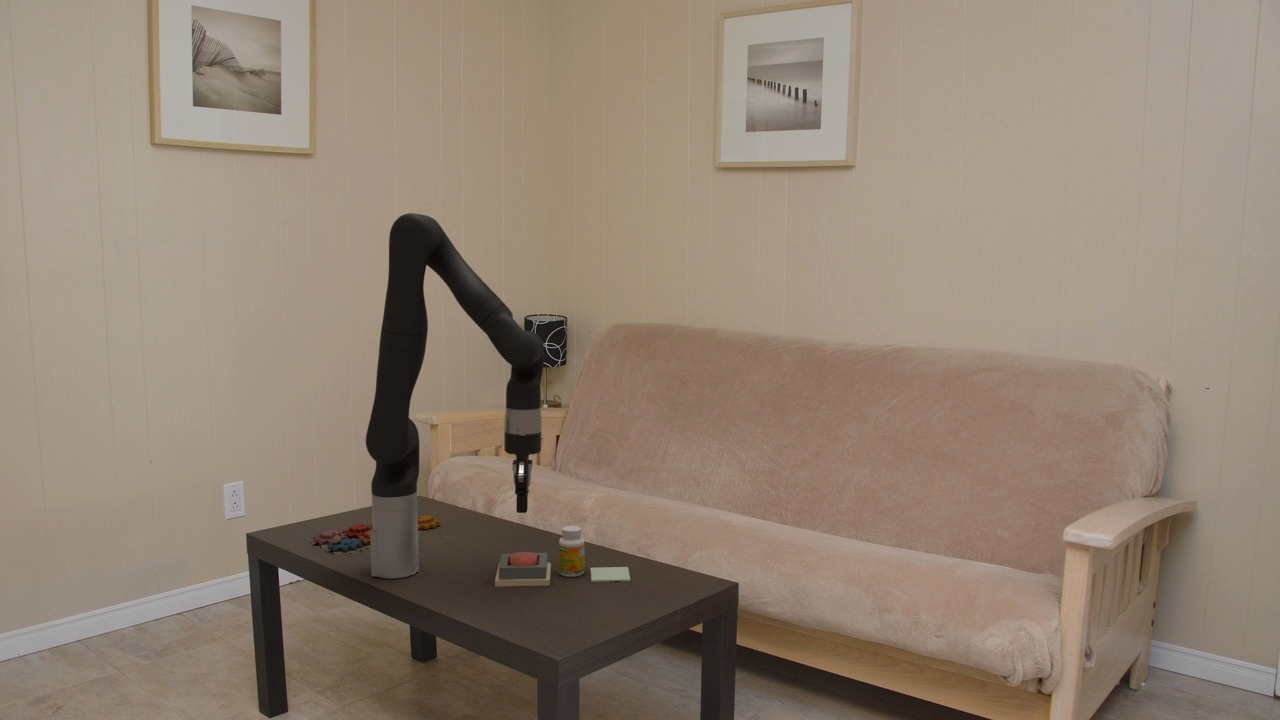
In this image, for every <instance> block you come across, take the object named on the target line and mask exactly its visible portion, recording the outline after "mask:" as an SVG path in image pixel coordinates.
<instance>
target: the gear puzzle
mask: <svg viewBox="0 0 1280 720" xmlns="http://www.w3.org/2000/svg"><path fill="white" fill-rule="evenodd" d="M417 517H418V533H421V534H418V537H420V536H423V535H422V532H421V531H419V530H421V529H423V530H428V529H430V528H437V526H440V525H441V524H442V523H441V521H440V519H439V518H435V517H433V516H432V515H428V514H427V515H420V516H418V515H417ZM372 529H373V524H370V526H369V525H367V524H361V523H360V524H354V525H352V526H349V528H348V529H346V530H343V531H342V533H341V531H340V530H336V529H334V530H331V529H330V530H324V531H322V532H320V534H318V535H316V536H315V535H314V536H313V537H312V540H311V541H313V543H319V544H318V545H321V546H328V547H326V548H327V549H328V550H333V551H332V552H336V553H338V554H342V553H347V552H351V553H356V552H360V551H358V550H360V549H366V547H367V548H371V541H370V533H371V531H372ZM348 538H349V539H348ZM363 546H364V547H363ZM366 550H367V549H366Z"/></svg>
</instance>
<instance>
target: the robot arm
mask: <svg viewBox="0 0 1280 720" xmlns="http://www.w3.org/2000/svg"><path fill="white" fill-rule="evenodd" d="M388 237H389V239H388V280H387V285H386V286H387V288H386V294H385V300H384V301H385V302H384V309H383V317H382V323H381V329H380V339H379V345H378V348H379V349H378V359H377V367H376V368H377V369H376V379H375V380H376V381H375V391H374V393H375V394H374V400H373V405H372V408H371V413H370V417H369V421H368V425H367V426H368V427H367V431H366V434H365V446H366V449H367V452H368V454H369V456H370V457H371V458H372V460H374V461H375V471H374V474H373V477H372V479H371V484H370V485H371V486H370V487H371V491H370V492H371V513H372V515H371V517H372V519H371V520H372V522H371V523H372V524H373V529H372V531H371V533H370V541H371V549H370V565H371V566H370V568H371V569H370V570H371V573H370V574H371V576H370V577H378V578H382V579H401V578H406V577H410V575H411V576H413V575H415V574H417V573H418V572H419V562H420V561H419V560H420V559H419V538H418V531H419V529H418V480H419V476H420V434H419V430H418V427H417V425H416V423H415V422H414V421H413V420H412V419H411V418H410V407H411V399H412V396H413V392H414V389H415V386H416V384H417V380H418V379H419V376H420V372H421V370H422V366H423V363H424V359H425V354H426V347H427V340H428V331H429V320H428V312H427V306H426V300H425V292H424V286H425V285H424V282H425V275H426V271H427V267H429V268H430V270H432V271H433V272H434V273H435V274H436V275H437V276H439V278H440V279H441V280H442V281H443V282H444V283H445V285H446V286H447V287H448V289H449V290H450V292H451V294H452V295H453V297H454V299H455V300H456V301H457V303H458V304H459V305H460V308H462V310H463V311H464V312H465V314H466V315H467V316H468V317H469V318H470V319H471V320H472V321H473V322H474V323H475V325H477V326H478V327H479V328H480V329H481V330H482V332H483V333H485V334H486V335H487V337H488V339H489V340H490V342H491V344H492V345H493V346H494V348H495V349H496V351H497V352H498V353H499V355H500V356H501V357H502V359H503V360H504V361H506V362H507V363H508V364H509V365H510V366H511V367H510V378H509V380H508V382H507V384H506V391H505V414H504V431H503V432H504V445H503V446H504V447H503V449H504V452H505V453H506V454H508V455H514V456H516V458H515V459H513V460H512V466H511V467H512V469H511V470H512V472H513V484H514V487H515V490H514V494H515V495H516V512H517V514H526V513H528V505H529V504H528V503H529V501H528V500H529V498H528V497H529V493H530V489H529V488H530V484H531V480H532V469H533V459H530V458H529V457H530V455H537V454H539V453H541V451H542V421H543V420H542V411H541V404H542V403H541V401H542V397H541V396H542V393H541V385H542V384H541V382H542V377H543V372H544V362H545V344H544V342H543V340H542V338H541V337H540V336H539V334H537V333H535V332H533V331H530V330H528V331H527V330H524V329H523V328H522V327H521V326H520V325H519V324H518V322H516V320H515V319H514V318H513V316H514V315H513V312H512V311H511V309H510V308H509V307H508V306H507V305H506V303H504V301H503V300H502V299H501V298H500V297H499V296H498V295H497V293H495V292H494V291H493V290H492V289H491V288H490V287H489V286H488V284H486V282H484V280H483V279H482V278H481V277H480V276H479V275H478V274H477V273H476V272H475V271H474V270H473V268H472V267H471V266H470V265H469V264H468V263H467V261H466V260H465V259H464V258H463V257H462V255H461V253H460V252H459V251H458V250H457V248H456V247H455V246H454V243H452V241H451V239H450V238H449V237H448V235H447V233H446V232H445V231H444V229H443V228H442V226H441V224H439V222H438V221H437V220H436V219H435V218H433V217H431V216H429V215H425V214H421V213H420V214H419V213H415V212H414V213H410V212H409V213H405V214H402V215H400V216H398V217H397V218H396V219H395V221H394V222H393V224H392V225H391V228H390V230H389V236H388ZM372 524H371V525H372ZM416 572H417V573H416Z"/></svg>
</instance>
